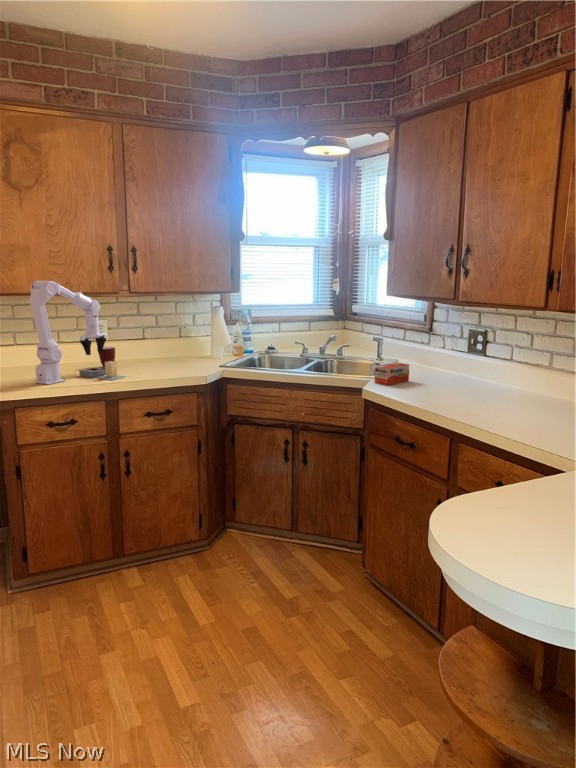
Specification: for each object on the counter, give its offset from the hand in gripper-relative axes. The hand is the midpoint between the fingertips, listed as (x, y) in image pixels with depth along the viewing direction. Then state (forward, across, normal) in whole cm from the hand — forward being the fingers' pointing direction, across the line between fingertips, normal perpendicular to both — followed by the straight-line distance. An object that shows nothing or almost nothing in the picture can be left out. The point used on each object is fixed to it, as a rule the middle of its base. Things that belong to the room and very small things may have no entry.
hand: (94, 353), depth 261 cm
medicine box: (+10, +44, -133) cm, 140 cm away
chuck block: (+9, -5, -4) cm, 11 cm away
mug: (+10, +16, +7) cm, 20 cm away
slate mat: (+9, -5, -15) cm, 18 cm away
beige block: (+9, -5, -15) cm, 18 cm away
